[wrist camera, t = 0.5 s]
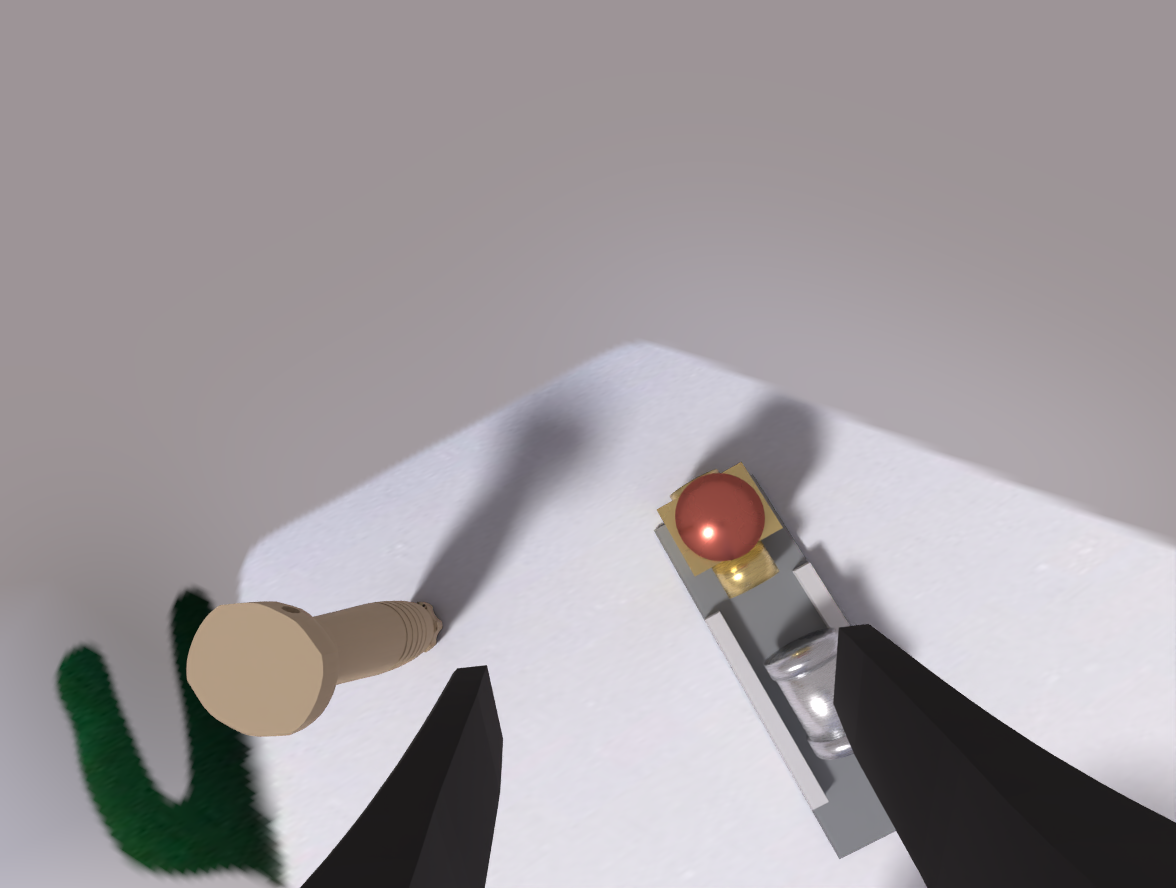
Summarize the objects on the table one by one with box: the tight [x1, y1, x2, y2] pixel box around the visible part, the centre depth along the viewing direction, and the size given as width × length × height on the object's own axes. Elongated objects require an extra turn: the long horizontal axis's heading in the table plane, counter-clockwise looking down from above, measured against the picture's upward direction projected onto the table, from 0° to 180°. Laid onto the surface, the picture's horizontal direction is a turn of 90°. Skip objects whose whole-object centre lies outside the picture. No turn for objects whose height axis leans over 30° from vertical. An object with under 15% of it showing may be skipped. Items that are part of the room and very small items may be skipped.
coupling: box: [764, 627, 854, 760], centre depth 31 cm, size 5×4×4 cm
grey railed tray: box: [654, 475, 896, 859], centre depth 33 cm, size 20×7×1 cm, turn 29°
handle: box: [187, 601, 442, 737], centre depth 31 cm, size 5×6×15 cm
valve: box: [657, 462, 783, 599], centre depth 32 cm, size 7×5×7 cm
